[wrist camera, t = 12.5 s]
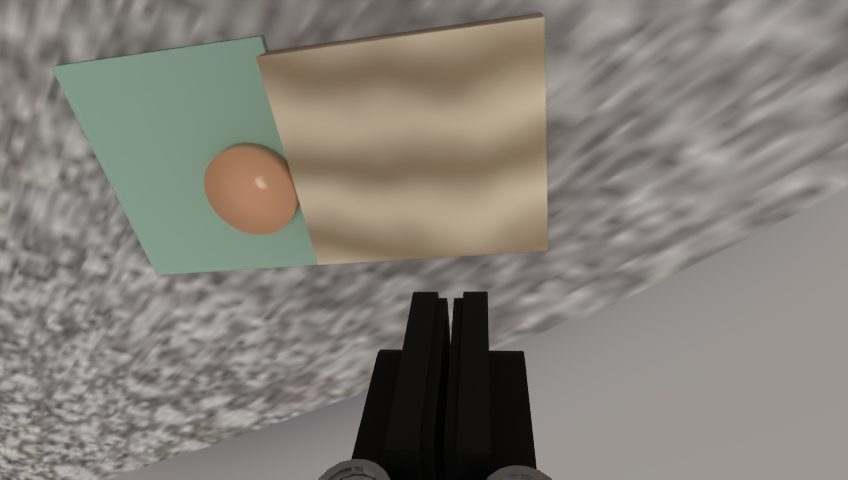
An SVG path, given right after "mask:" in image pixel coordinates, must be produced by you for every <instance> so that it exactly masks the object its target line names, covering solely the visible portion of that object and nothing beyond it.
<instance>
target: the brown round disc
mask: <svg viewBox="0 0 848 480" xmlns="http://www.w3.org/2000/svg"><path fill="white" fill-rule="evenodd" d="M204 188H205V193H206V196H207V198H208V201H209V203H210V204H211V206H212V208H213V209H214V210H215V212H216V213H217V214H218V215H219V216H220V217H221V218H222V219H223V220H224V221H225V222H227V223H228V224H229V225H231V226H232V227H234V228H236V229H238V230H240V231H243V232H245V233H249V234H255V235H267V234H272V233H275V232H277V231H279V230H281V229H282V228H283V227H285V226H286V225H287V224H288V222H289V221H290V220H291V219H292V217H293V216H294V215H295V213H296V212H297V210H298V208H299V206H300V203H299V199H298V196H297V193H296V189H295V186H294V183H293V179H292V176H291V173H290V169H289V166H288V163H287V160H286V159H285V158H283V157H282V156H281V155H280V154H279V153H277V152H276V151H274V150H272V149H270V148H268V147H266V146H263V145H260V144H255V143H240V144H236V145H233V146H231V147H229V148H227V149H226V150H224V151H223V152H222V153H220V154H219V155H218V156H216V157H215V158H214V159H213V160H212V161H211V162H210V163H209V165H208V167H207V169H206V172H205V176H204Z"/></svg>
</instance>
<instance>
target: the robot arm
mask: <svg viewBox="0 0 848 480" xmlns="http://www.w3.org/2000/svg"><path fill="white" fill-rule="evenodd" d="M318 480H552V479H551V478H550V477H548V476H547V475H545V474H544V473H542V472H541V471H539V470H537V468H536V459H535V449H534V440H533V431H532V421H531V412H530V403H529V394H528V385H527V375H526V366H525V358H524V352H523V351H489V339H488V293H487V292H464V293H463V298H454V307H453V321H452V335H451V342H450V328H449V315H448V301H447V298H439V295H438V292H414V293H413V296H412V302H411V307H410V312H409V318H408V323H407V328H406V334H405V339H404V344H403V350H380V351H379V352H378V355H377V358H376V362H375V366H374V370H373V374H372V378H371V382H370V386H369V390H368V394H367V398H366V402H365V407H364V411H363V415H362V419H361V423H360V427H359V431H358V435H357V439H356V443H355V447H354V452H353V455H352V459H351V460H348V461H343V462H340V463H338V464H337V465H335V466H333V467H332V468H329V469H328V470H327V471H326V472H325V473H324V474H323V475H322V476H321V477H320V478H319V479H318Z"/></svg>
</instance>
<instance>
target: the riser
mask: <svg viewBox="0 0 848 480" xmlns="http://www.w3.org/2000/svg"><path fill="white" fill-rule="evenodd" d="M256 60H257V63H258V66H259V70H260V73H261V76H262V80H263V83H264V86H265V90H266V93H267V96H268V99H269V103H270V106H271V109H272V113H273V116H274V119H275V123H276V126H277V129H278V133H279V136H280V139H281V143H282V146H283V149H284V153H285V156H286V159H287V163H288V166H289V169H290V173H291V176H292V179H293V183H294V186H295V189H296V193H297V196H298V199H299V203H300V206H301V209H302V213H303V216H304V219H305V223H306V226H307V229H308V232H309V236H310V239H311V242H312V246H313V249H314V252H315V256H316V259H317V262H318V265H326V264H342V263H358V262H374V261H390V260H406V259H422V258H438V257H454V256H470V255H486V254H502V253H518V252H534V251H548V221H547V144H546V67H545V16H544V15H543V14H542V13H538V14H531V15H524V16H517V17H510V18H502V19H495V20H488V21H481V22H474V23H467V24H460V25H452V26H445V27H438V28H431V29H424V30H417V31H410V32H402V33H395V34H388V35H381V36H374V37H367V38H360V39H352V40H345V41H338V42H331V43H324V44H317V45H310V46H302V47H295V48H288V49H281V50H274V51H267V52H265V53H263V54H261V55H259V56H257V57H256Z"/></svg>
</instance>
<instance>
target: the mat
mask: <svg viewBox="0 0 848 480" xmlns="http://www.w3.org/2000/svg"><path fill="white" fill-rule="evenodd" d="M265 52H267V47H266V44H265V40H264V37H263V36H256V37H250V38H243V39H236V40H229V41H222V42H215V43H208V44H202V45H195V46H188V47H181V48H174V49H167V50H160V51H154V52H147V53H140V54H133V55H126V56H119V57H113V58H106V59H99V60H92V61H85V62H78V63H71V64H65V65H58V66H53V67H51V68H52V70H53V72H54V74H55V76H56V78H57V80H58V82H59V84H60V86H61V88H62V90H63V92H64V94H65V96H66V98H67V100H68V102H69V104H70V106H71V108H72V109H73V111H74V113H75V115H76V117H77V119H78V121H79V123H80V125H81V127H82V129H83V131H84V133H85V135H86V137H87V139H88V141H89V143H90V145H91V147H92V149H93V151H94V153H95V155H96V157H97V159H98V161H99V162H100V164H101V166H102V168H103V170H104V172H105V174H106V176H107V178H108V180H109V182H110V184H111V186H112V188H113V190H114V192H115V194H116V196H117V198H118V200H119V202H120V204H121V206H122V208H123V210H124V212H125V214H126V216H127V217H128V219H129V221H130V223H131V225H132V227H133V229H134V231H135V233H136V235H137V237H138V239H139V241H140V243H141V245H142V247H143V249H144V251H145V253H146V255H147V257H148V259H149V261H150V263H151V265H152V267H153V269H154V270H155V272H156V274H157V275H164V274H180V273H195V272H211V271H227V270H243V269H259V268H275V267H291V266H307V265H318V262H317V259H316V256H315V252H314V249H313V246H312V242H311V239H310V236H309V232H308V229H307V226H306V223H305V219H304V216H303V213H302V209H301V206H299V208H298V210H297V212H296V213H295V215H294V216H293V217H292V219H291V220H290V221H289V222H288V224H287V225H286V226H285V227H283V228H282V229H281V230H279V231H277V232H275V233H272V234H267V235H255V234H249V233H245V232H243V231H240V230H238V229H236V228H234V227H232V226H231V225H229V224H228V223H227V222H225V221H224V220H223V219H222V218H221V217H220V216H219V215H218V214H217V213H216V212H215V210H214V209H213V208H212V206H211V204H210V203H209V201H208V198H207V196H206V193H205V188H204V176H205V172H206V169H207V167H208V165H209V163H210V162H211V161H212V160H213V159H214V158H215V157H216V156H218V155H219V154H220V153H222V152H223V151H224V150H226V149H227V148H229V147H231V146H233V145H236V144H240V143H255V144H260V145H263V146H266V147H268V148H270V149H272V150H274V151H276V152H277V153H279V154H280V155H281V156H282V157H283V158H285V159H286V156H285V153H284V149H283V146H282V143H281V139H280V136H279V133H278V129H277V126H276V123H275V119H274V116H273V113H272V109H271V106H270V103H269V99H268V96H267V93H266V90H265V86H264V83H263V80H262V76H261V73H260V70H259V66H258V63H257V60H256V57H257V56H259V55H261V54H263V53H265ZM286 160H287V159H286Z"/></svg>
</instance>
